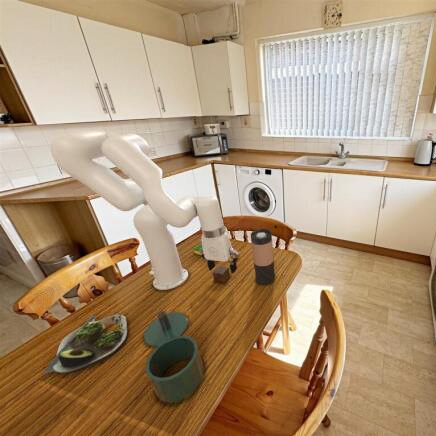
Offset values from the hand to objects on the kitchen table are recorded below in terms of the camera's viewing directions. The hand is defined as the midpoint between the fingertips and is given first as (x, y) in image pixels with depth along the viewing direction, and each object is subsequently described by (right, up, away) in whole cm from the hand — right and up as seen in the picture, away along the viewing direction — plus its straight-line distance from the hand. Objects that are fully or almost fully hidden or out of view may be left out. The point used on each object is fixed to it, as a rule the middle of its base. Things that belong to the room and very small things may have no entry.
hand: (223, 269), depth 92 cm
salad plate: (-31, -17, -23) cm, 42 cm away
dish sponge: (-11, +4, +20) cm, 23 cm away
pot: (-1, -20, -33) cm, 38 cm away
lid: (-12, -14, -20) cm, 26 cm away
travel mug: (+16, -4, +1) cm, 17 cm away
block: (-1, -4, +2) cm, 5 cm away
